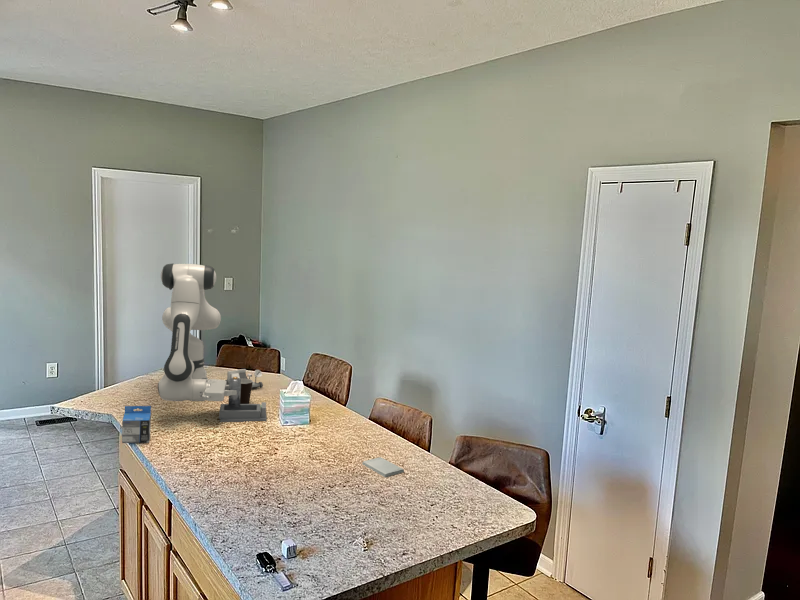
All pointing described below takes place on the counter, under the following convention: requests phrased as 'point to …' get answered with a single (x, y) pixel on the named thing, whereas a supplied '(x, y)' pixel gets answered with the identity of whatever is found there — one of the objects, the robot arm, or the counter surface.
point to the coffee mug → (245, 391)
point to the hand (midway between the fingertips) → (237, 390)
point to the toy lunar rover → (244, 376)
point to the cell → (235, 399)
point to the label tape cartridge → (136, 424)
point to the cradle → (243, 413)
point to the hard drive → (383, 467)
